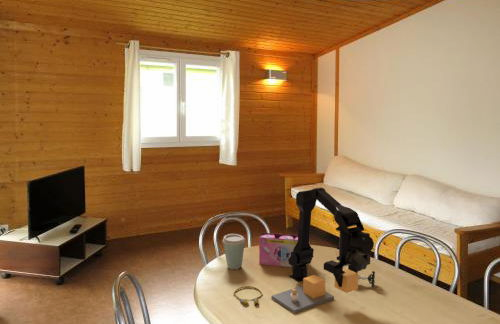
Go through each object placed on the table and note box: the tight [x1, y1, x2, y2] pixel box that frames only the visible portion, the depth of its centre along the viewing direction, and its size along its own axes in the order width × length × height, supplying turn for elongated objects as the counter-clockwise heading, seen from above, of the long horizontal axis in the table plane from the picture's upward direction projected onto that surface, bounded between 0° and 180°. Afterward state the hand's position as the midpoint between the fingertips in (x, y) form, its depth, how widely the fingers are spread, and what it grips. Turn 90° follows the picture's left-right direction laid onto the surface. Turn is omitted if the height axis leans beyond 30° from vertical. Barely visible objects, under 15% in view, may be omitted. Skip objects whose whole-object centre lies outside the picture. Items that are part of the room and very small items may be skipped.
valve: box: [346, 266, 376, 288], centre depth 168 cm, size 7×7×12 cm
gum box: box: [258, 232, 311, 268], centre depth 191 cm, size 24×8×14 cm, turn 77°
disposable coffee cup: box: [222, 233, 246, 270], centre depth 186 cm, size 11×11×15 cm
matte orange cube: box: [334, 267, 359, 294], centre depth 149 cm, size 6×6×6 cm
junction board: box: [270, 274, 335, 314], centre depth 155 cm, size 14×20×7 cm
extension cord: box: [233, 285, 263, 307], centre depth 158 cm, size 12×16×2 cm
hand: (346, 284), depth 149 cm, fingers closed on matte orange cube, 6 cm apart
